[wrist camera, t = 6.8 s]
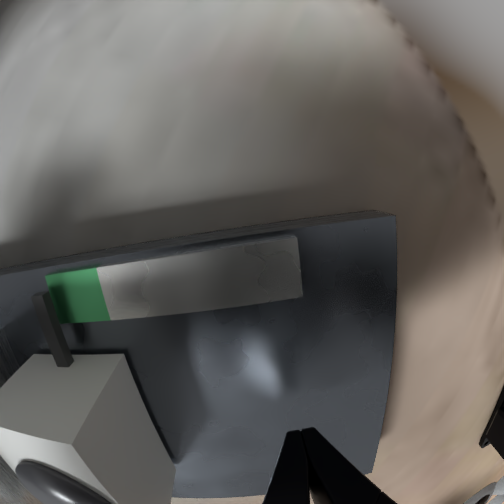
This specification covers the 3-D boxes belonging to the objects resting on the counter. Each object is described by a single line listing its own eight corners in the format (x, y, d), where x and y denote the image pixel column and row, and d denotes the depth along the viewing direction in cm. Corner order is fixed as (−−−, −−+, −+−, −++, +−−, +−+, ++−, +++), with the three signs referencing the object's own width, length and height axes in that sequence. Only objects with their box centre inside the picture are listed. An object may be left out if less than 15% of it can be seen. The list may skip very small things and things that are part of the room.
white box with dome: (101, 280, 8) (12, 354, 4) (176, 469, 10) (162, 551, 6) (-12, 295, 8) (-87, 341, 4) (70, 457, 10) (41, 519, 6)
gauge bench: (374, 209, 9) (577, 276, 2) (363, 452, 12) (409, 566, 5) (-32, 275, 9) (-140, 336, 2) (60, 460, 12) (19, 546, 5)
